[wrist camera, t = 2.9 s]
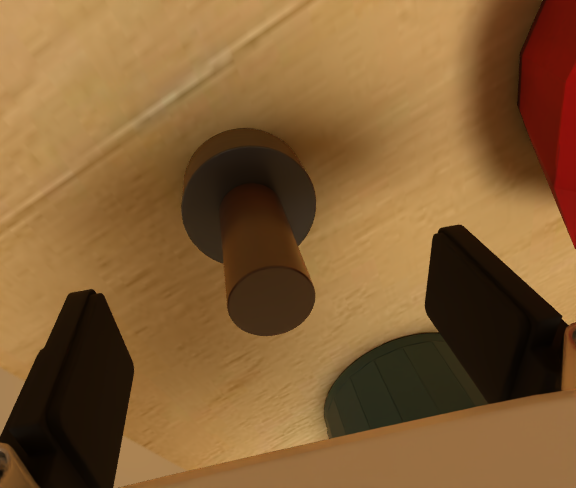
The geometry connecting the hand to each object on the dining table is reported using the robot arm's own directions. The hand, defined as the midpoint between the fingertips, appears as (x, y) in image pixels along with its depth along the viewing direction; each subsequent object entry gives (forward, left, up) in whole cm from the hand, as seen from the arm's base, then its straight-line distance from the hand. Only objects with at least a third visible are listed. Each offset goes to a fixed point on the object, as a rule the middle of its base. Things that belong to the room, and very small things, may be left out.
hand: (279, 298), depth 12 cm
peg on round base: (0, 0, -9) cm, 9 cm away
